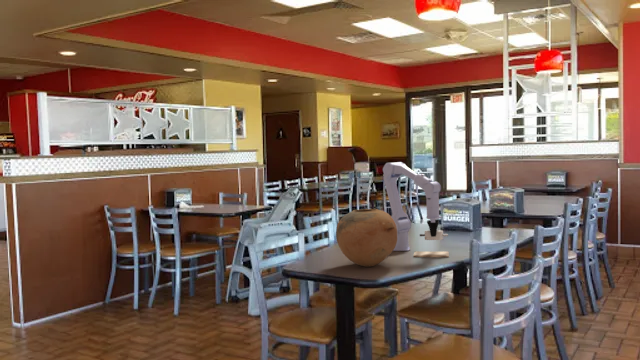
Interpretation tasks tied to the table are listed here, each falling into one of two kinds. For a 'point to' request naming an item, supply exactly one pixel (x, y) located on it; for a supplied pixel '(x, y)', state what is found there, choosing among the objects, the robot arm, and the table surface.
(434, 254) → the pad
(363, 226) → the pot
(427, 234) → the connector
